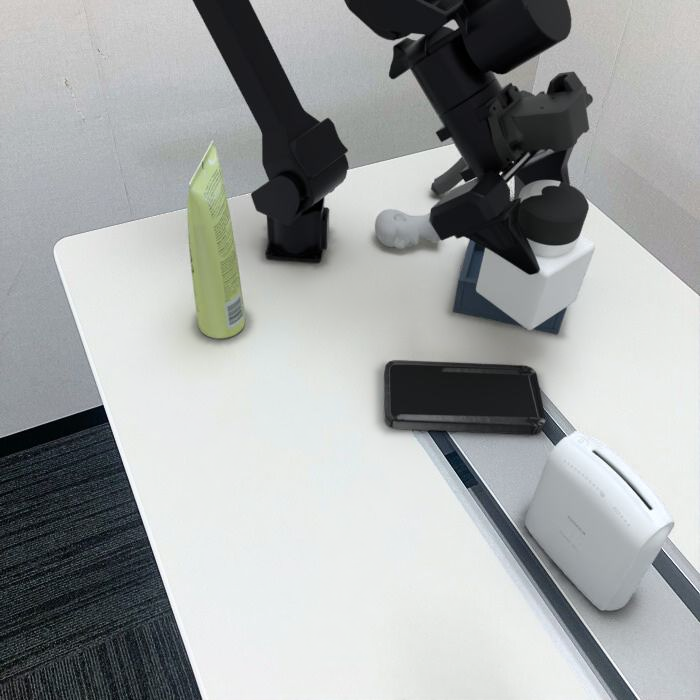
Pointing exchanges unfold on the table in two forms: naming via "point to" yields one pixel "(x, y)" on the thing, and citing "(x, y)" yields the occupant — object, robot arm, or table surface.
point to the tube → (213, 252)
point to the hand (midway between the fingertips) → (554, 249)
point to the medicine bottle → (542, 256)
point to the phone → (462, 397)
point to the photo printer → (597, 520)
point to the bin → (479, 306)
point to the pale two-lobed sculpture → (403, 229)
